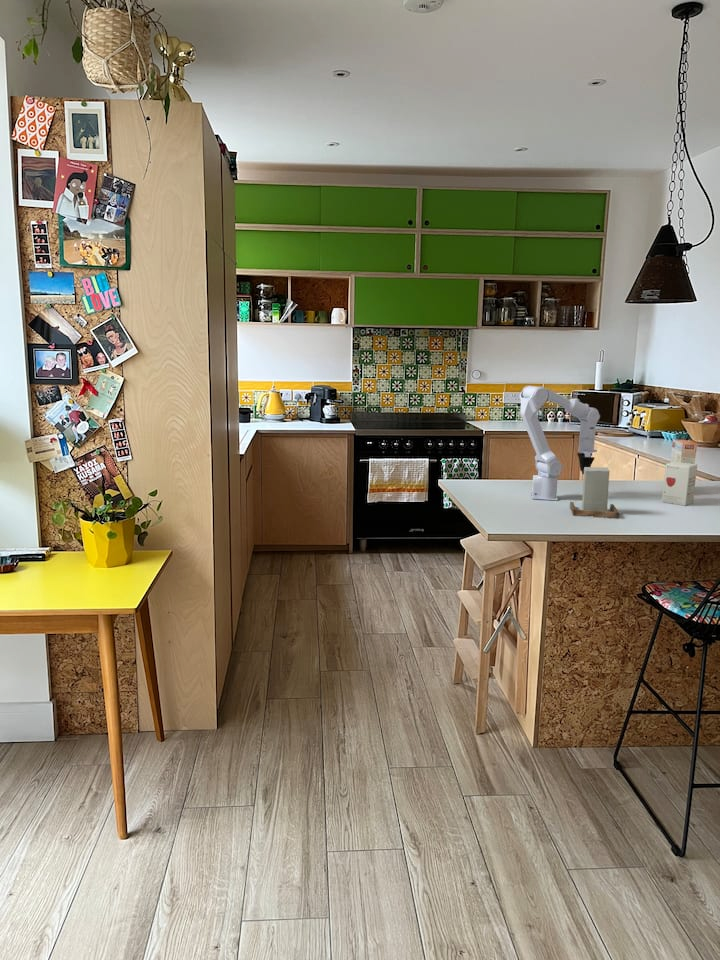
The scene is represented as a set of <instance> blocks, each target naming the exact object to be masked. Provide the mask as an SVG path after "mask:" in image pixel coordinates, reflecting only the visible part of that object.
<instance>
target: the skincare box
mask: <svg viewBox="0 0 720 960" xmlns="http://www.w3.org/2000/svg"><path fill="white" fill-rule="evenodd" d="M609 481H610V470H609V468H608V467H601V466H600V467H597V466H596V467H593V466H592V467H584V475H583V482H582V502H581V510H591V511H607V512H608V501H609V499H608V498H609V486H610V485H609V483H610V482H609Z"/></svg>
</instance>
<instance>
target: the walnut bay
mask: <svg viewBox="0 0 720 960" xmlns="http://www.w3.org/2000/svg"><path fill="white" fill-rule="evenodd" d="M569 509H570V511H571V514H572V516H573V517H586V516H593V517H592V518H602V517H608V518H607V519H618V518H620V512H619V510H618V509H617V508H616V506H615V505H614V504H612V503H610V505H609V510H610V511H608V510H607V511H591V510H582V509H577V507H576V505H575V504H574V502H573V501H570V502H569Z"/></svg>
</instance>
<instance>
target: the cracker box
mask: <svg viewBox="0 0 720 960" xmlns="http://www.w3.org/2000/svg"><path fill="white" fill-rule="evenodd" d="M671 447H672V448H671V453H670V455H671V456H670V463H671V462H681V463H689V464H696V455H697V447H698V444H697V443H695V442H693V441H690V440H687V439H676V438H675V439H672V444H671Z"/></svg>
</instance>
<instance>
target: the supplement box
mask: <svg viewBox="0 0 720 960" xmlns="http://www.w3.org/2000/svg"><path fill="white" fill-rule="evenodd" d="M697 471H698V464H696V463H695V464H689V463H681V462H671V461H670V462H667V463H666V464H665V471H664V481H663V487H662V489H663V490H662V497H661V503H667V504H672V503H673V505H678V504H680V506H684V505H686V506H688V505H690V504H692V502H693V503H694V496H695V489H696V487H695V486H696V479H697Z"/></svg>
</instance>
